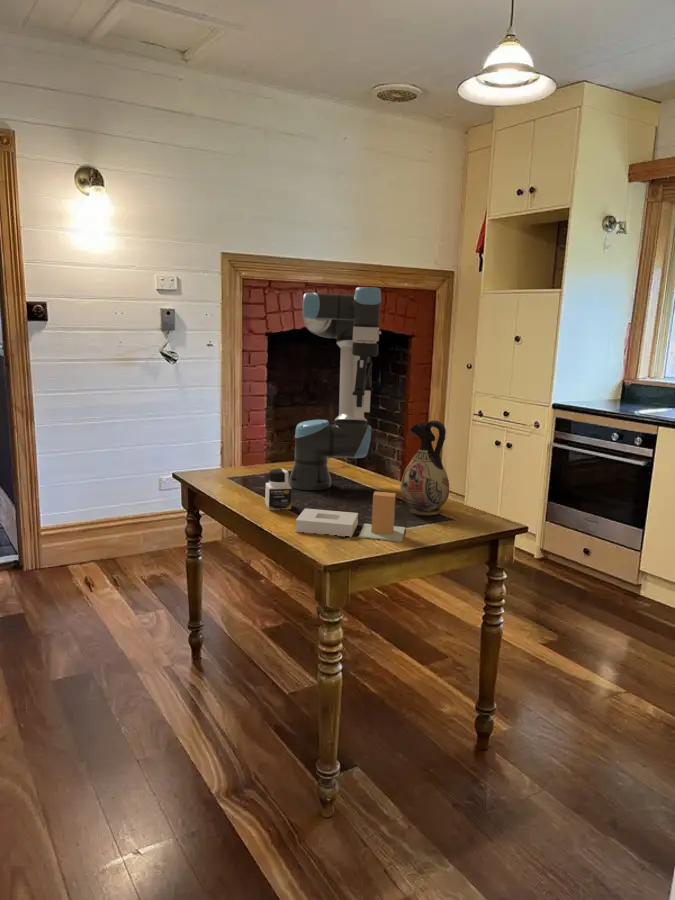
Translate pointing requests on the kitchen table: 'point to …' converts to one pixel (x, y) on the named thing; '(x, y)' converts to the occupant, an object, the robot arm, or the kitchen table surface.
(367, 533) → the mat
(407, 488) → the ceramic jug
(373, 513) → the plug
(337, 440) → the robot arm
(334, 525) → the socket housing
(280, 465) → the kitchen table surface
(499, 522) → the kitchen table surface
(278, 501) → the medicine bottle
